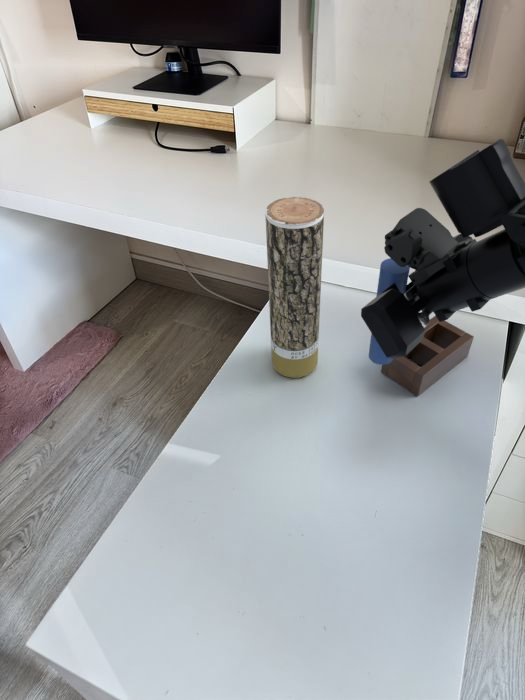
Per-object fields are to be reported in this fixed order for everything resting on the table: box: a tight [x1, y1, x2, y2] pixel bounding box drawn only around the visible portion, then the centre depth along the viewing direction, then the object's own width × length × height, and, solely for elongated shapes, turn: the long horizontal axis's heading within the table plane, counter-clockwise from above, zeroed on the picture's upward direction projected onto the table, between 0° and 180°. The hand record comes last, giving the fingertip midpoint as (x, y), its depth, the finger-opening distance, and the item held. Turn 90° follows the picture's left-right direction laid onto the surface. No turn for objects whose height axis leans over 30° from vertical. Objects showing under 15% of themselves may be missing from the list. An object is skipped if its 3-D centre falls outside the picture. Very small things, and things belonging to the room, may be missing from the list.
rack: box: [380, 315, 475, 397], centre depth 73 cm, size 7×12×4 cm, turn 130°
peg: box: [368, 257, 411, 366], centre depth 61 cm, size 3×3×14 cm
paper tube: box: [265, 196, 325, 379], centre depth 67 cm, size 7×7×25 cm
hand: (378, 312), depth 62 cm, fingers closed on peg, 3 cm apart
